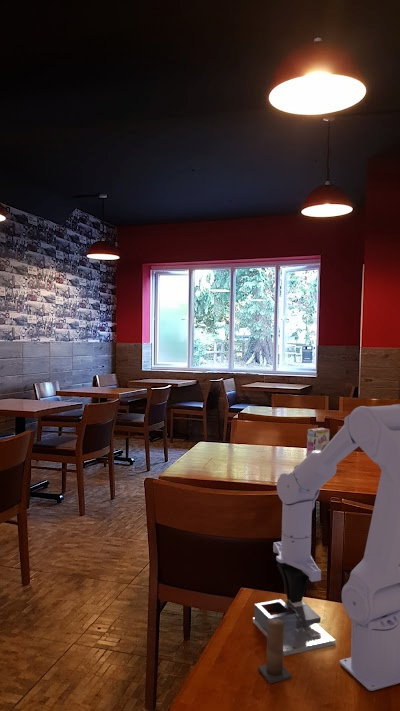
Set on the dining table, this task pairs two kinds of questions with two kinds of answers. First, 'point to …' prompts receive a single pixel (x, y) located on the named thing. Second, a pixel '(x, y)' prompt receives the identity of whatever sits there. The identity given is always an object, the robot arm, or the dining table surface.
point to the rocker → (304, 612)
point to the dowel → (275, 647)
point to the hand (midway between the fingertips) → (294, 601)
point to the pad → (273, 679)
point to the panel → (291, 628)
